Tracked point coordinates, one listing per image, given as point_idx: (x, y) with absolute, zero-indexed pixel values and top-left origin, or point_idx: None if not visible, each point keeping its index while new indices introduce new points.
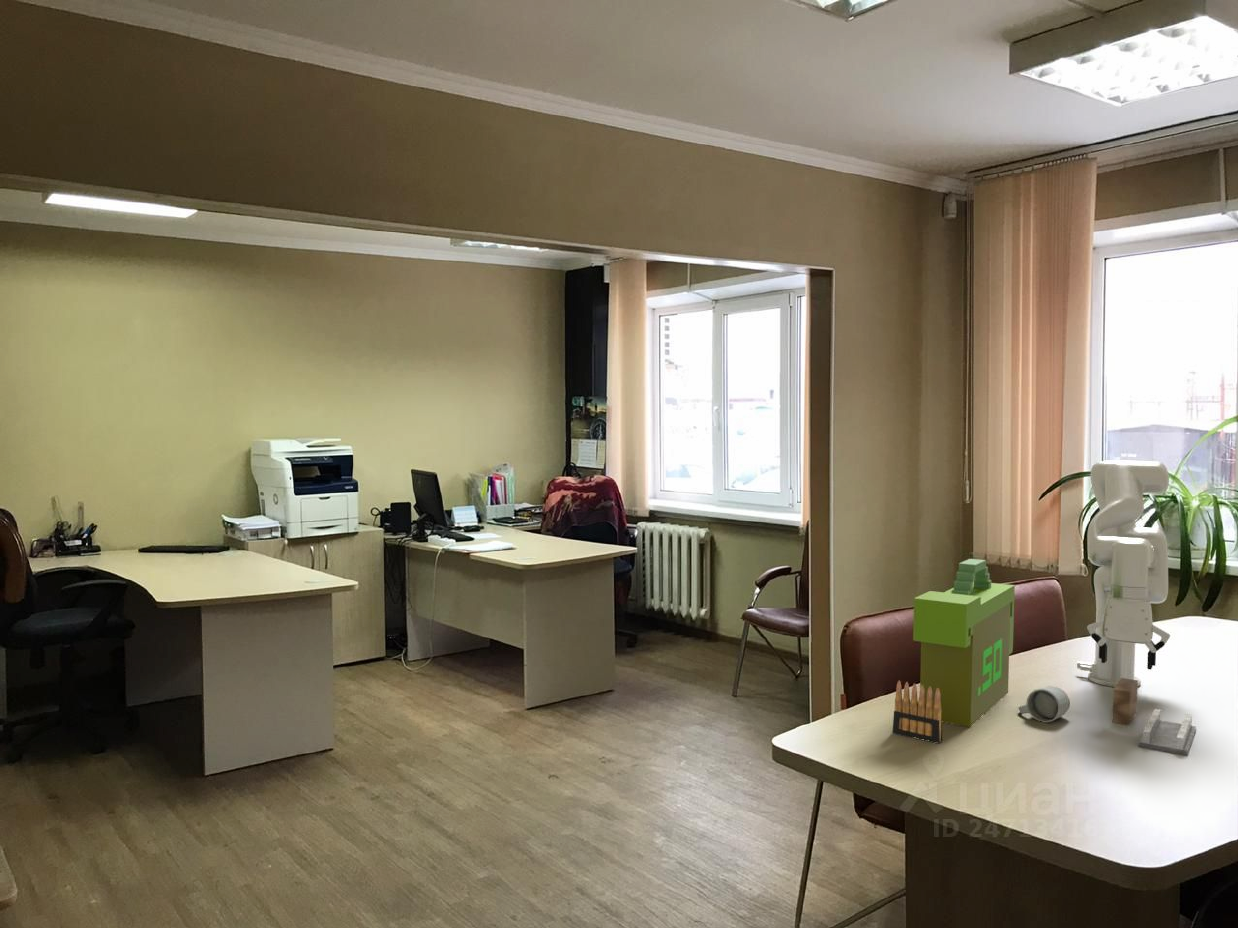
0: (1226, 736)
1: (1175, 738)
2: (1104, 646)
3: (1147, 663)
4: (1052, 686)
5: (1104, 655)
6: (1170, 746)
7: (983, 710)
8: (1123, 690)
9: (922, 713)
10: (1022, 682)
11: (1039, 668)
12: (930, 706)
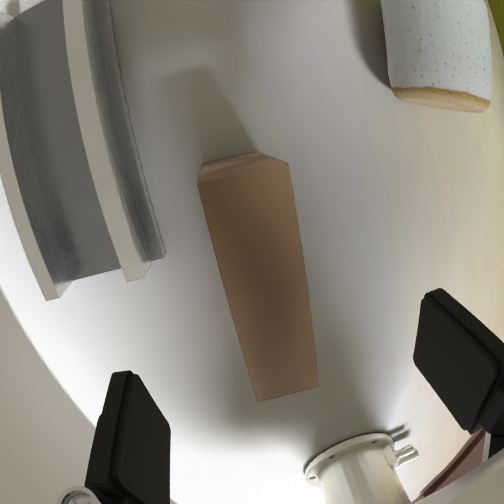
0: (4, 289)
1: (32, 102)
2: (501, 374)
3: (130, 400)
4: (481, 75)
5: (457, 323)
6: (28, 20)
7: (497, 3)
8: (236, 180)
9: None
10: (492, 325)
11: None
12: None
